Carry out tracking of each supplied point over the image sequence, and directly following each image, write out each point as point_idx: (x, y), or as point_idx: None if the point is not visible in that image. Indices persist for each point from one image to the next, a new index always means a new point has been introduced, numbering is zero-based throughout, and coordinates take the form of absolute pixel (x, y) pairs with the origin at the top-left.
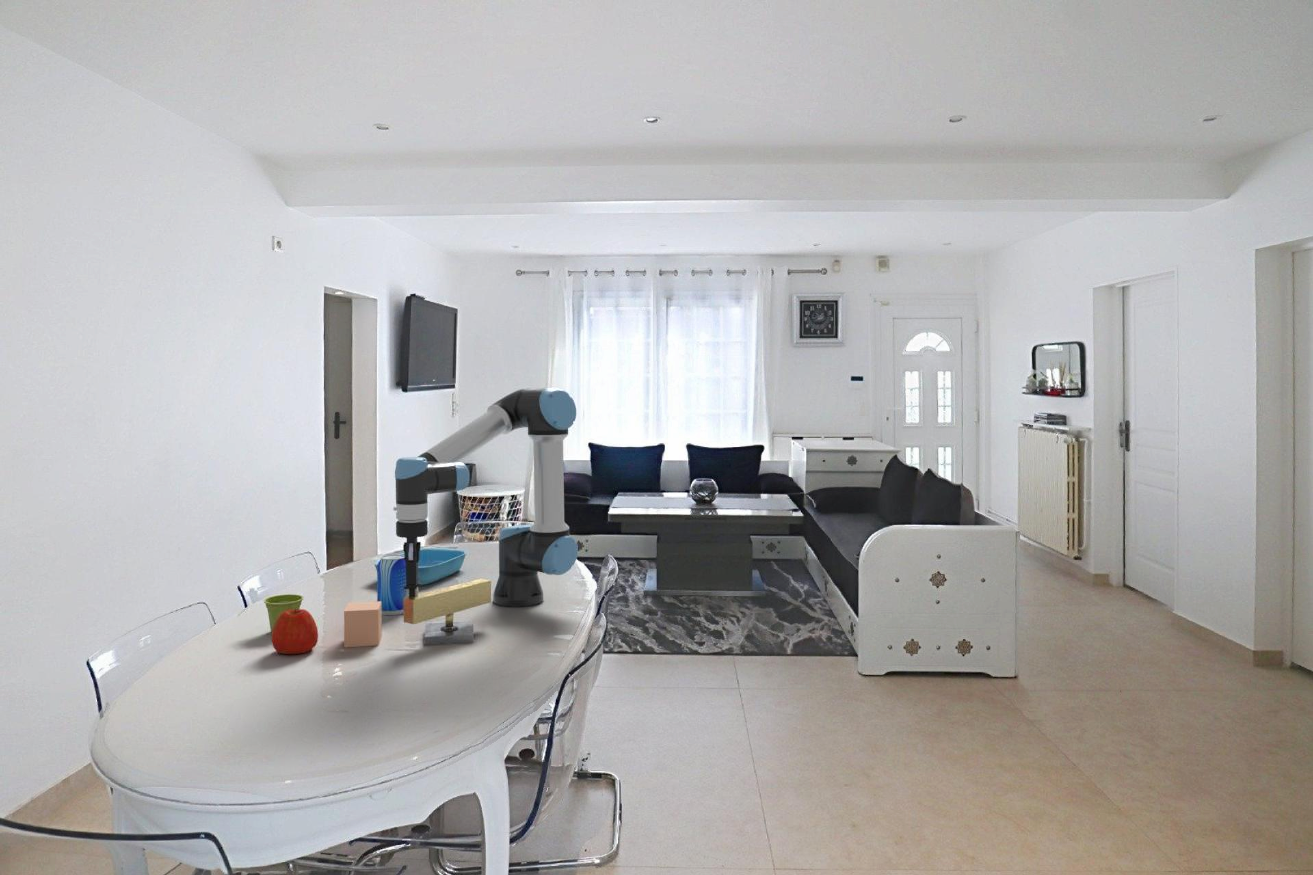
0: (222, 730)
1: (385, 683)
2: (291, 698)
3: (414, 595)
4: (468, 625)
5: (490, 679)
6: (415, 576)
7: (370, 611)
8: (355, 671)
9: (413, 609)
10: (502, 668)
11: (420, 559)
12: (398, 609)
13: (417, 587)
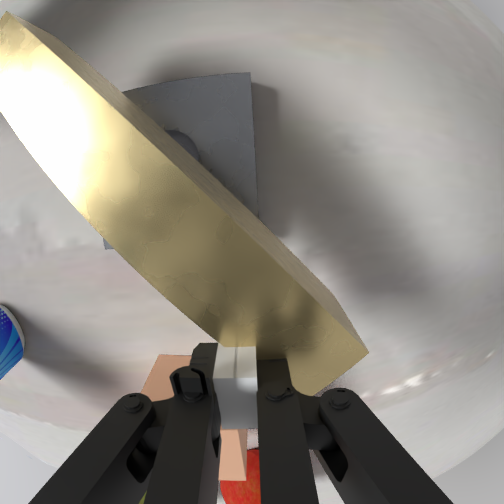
0: (500, 406)
1: (487, 288)
2: (471, 394)
3: (287, 364)
4: (138, 102)
5: (500, 95)
6: (405, 459)
7: (240, 440)
8: (417, 358)
9: (351, 324)
10: (457, 55)
11: None
12: (11, 324)
13: (232, 380)
